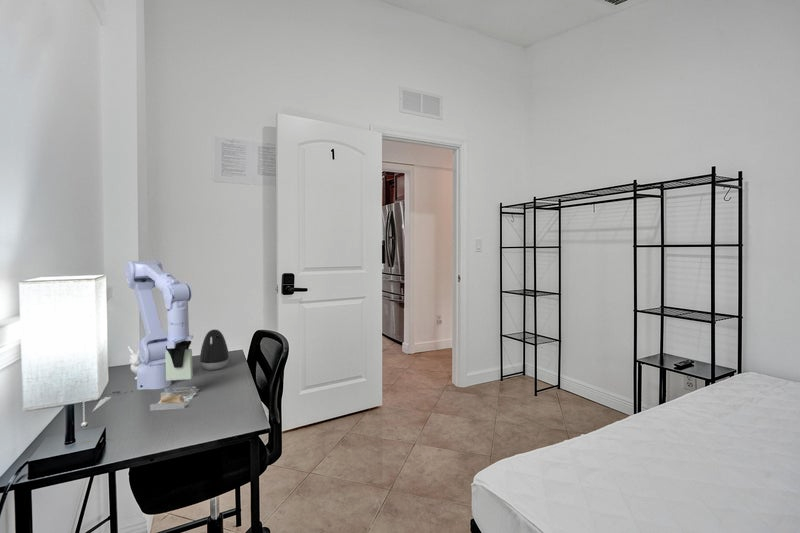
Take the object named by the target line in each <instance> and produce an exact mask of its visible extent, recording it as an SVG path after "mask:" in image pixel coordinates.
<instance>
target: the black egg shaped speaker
mask: <svg viewBox="0 0 800 533" xmlns="http://www.w3.org/2000/svg"><path fill="white" fill-rule="evenodd" d="M229 357H230V355H229V349H228V344H227V342H226V339H225V337H224V334H223V333H222V332H221V330H219V329H215V328H214V329H210V330H209V331H207V333H206V334H205V337H204V338H203V342H202V344H201V347H200V354H199V361H200V364H201V365H202V367H203V368H204V369H206V370H208V371H217V370H221V369H224V367H226V365H227V363H228V360H229V359H230V358H229Z"/></svg>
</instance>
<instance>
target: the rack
mask: <svg viewBox="0 0 800 533" xmlns="http://www.w3.org/2000/svg"><path fill="white" fill-rule="evenodd" d="M199 390H200V388H197V386H195V385H194V386H182V387H181V386H180V387H179V386H177V387H165V388H164V391H161V392H160V399H159V401H158V402H157V403H151V404H149V411H160V410H161V411H163V410H177V409H185V408H186V407H187V405H188V404H189V403H190V402H191V400H192V399H193V398H194V397H195V395H196V394H197V393H198V392H199ZM167 395H182V398H184V402H175V403H160V404H158V403H159V402H160V401H161V398H162V397H163V396H167Z"/></svg>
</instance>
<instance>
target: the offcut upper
mask: <svg viewBox="0 0 800 533" xmlns="http://www.w3.org/2000/svg"><path fill="white" fill-rule="evenodd" d="M181 399H182V395H167V396H163V397H162V398H161V397H160V400H161V403H164V402H179V401H180V400H181Z"/></svg>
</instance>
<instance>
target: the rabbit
mask: <svg viewBox="0 0 800 533" xmlns="http://www.w3.org/2000/svg"><path fill="white" fill-rule="evenodd" d="M127 349H128V350H129V352H130V353H129V354H130V355H129V356H130V358H129V364H130V370H131V372H132V373H133V374H135V375H136V376H135V377H134V380H137V369H138V366H139V364H140V363H143V362H141V360H140V357H139V349H138V351H137V352H135V350H134V349H133V348H132V345H128V346H127Z"/></svg>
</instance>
